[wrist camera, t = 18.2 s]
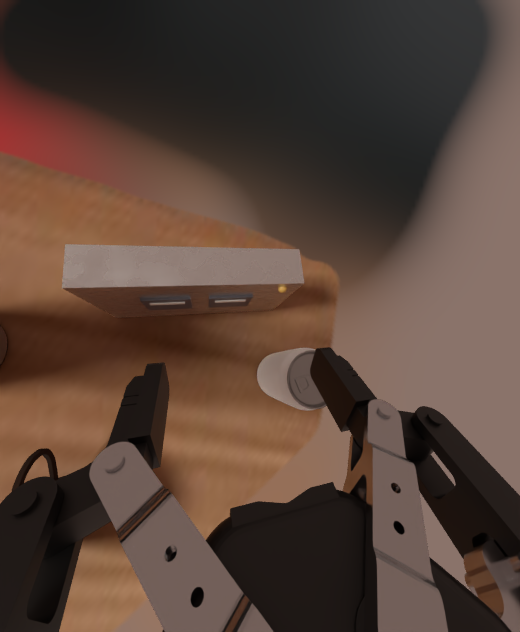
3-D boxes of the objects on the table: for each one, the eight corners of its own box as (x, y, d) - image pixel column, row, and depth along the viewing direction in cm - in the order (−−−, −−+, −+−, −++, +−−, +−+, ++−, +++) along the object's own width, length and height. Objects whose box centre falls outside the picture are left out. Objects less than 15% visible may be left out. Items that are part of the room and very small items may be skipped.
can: (303, 386, 34) (353, 396, 22) (265, 405, 32) (298, 426, 21) (287, 346, 35) (327, 337, 23) (249, 362, 33) (272, 360, 21)
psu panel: (116, 321, 30) (61, 293, 18) (117, 289, 31) (65, 244, 19) (273, 313, 35) (305, 287, 24) (269, 286, 36) (299, 249, 25)
